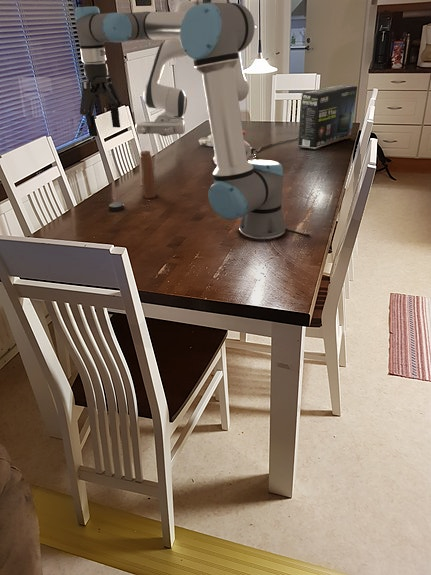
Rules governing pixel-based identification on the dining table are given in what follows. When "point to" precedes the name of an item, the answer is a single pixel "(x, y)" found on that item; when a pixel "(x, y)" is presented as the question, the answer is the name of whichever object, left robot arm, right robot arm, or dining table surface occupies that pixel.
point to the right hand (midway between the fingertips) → (105, 131)
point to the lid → (116, 206)
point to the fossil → (206, 141)
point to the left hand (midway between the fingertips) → (154, 132)
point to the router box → (326, 115)
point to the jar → (147, 174)
